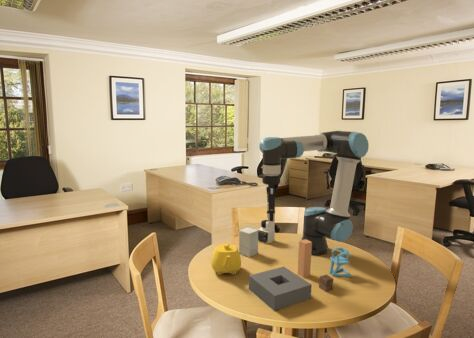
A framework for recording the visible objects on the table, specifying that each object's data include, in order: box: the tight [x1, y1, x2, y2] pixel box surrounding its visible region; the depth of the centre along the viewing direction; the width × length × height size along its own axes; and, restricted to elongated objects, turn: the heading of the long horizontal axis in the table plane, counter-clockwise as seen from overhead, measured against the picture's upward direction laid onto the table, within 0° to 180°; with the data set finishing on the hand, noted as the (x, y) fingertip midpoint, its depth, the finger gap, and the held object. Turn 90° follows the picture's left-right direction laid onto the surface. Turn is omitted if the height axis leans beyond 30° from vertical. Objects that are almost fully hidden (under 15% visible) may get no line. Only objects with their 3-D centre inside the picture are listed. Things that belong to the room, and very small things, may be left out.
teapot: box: [210, 243, 242, 276], centre depth 157 cm, size 14×20×13 cm
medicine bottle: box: [257, 219, 276, 245], centre depth 196 cm, size 7×7×12 cm
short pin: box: [318, 274, 334, 293], centre depth 145 cm, size 4×4×5 cm
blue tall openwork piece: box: [328, 247, 352, 278], centre depth 158 cm, size 8×8×12 cm
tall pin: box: [297, 239, 312, 278], centre depth 156 cm, size 4×4×16 cm
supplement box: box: [238, 226, 259, 258], centre depth 178 cm, size 7×7×13 cm
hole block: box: [248, 266, 312, 311], centre depth 140 cm, size 18×18×6 cm
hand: (270, 222), depth 148 cm, fingers open, 13 cm apart
